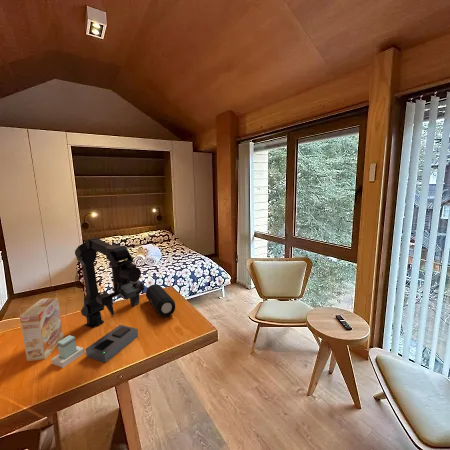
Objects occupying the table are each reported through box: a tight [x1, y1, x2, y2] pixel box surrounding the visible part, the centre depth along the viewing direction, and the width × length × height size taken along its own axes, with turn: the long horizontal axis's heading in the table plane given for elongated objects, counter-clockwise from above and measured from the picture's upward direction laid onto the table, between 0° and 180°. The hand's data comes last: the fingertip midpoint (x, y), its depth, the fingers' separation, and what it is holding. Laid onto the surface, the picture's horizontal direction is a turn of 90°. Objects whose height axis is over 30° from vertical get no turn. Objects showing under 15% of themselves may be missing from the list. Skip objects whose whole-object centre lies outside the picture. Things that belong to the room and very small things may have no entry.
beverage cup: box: [129, 280, 141, 306], centre depth 142 cm, size 7×7×20 cm
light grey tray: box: [51, 345, 86, 369], centre depth 98 cm, size 6×9×2 cm, turn 158°
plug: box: [57, 334, 77, 360], centre depth 98 cm, size 3×5×8 cm
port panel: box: [85, 324, 139, 364], centre depth 105 cm, size 10×18×5 cm, turn 158°
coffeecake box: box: [19, 297, 64, 362], centre depth 103 cm, size 15×7×20 cm, turn 9°
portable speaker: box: [145, 283, 176, 318], centre depth 137 cm, size 26×10×10 cm, turn 32°
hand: (123, 311), depth 107 cm, fingers open, 9 cm apart
